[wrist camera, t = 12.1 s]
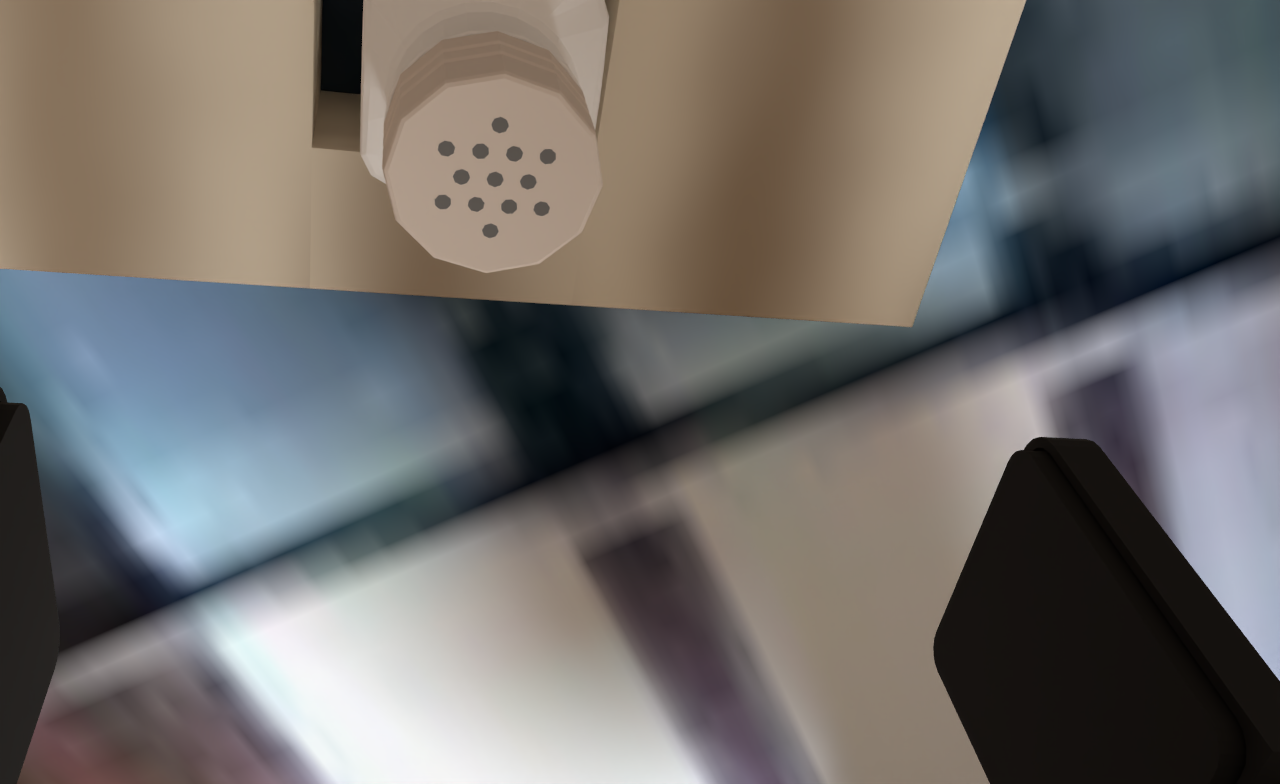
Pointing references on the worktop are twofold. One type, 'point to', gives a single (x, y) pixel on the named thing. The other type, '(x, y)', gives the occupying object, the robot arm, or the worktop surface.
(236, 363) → the worktop surface
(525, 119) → the pepper shaker
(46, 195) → the spice stand
